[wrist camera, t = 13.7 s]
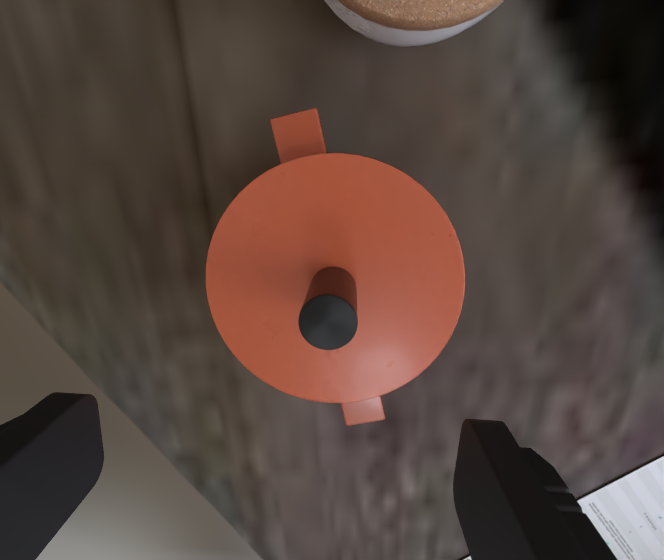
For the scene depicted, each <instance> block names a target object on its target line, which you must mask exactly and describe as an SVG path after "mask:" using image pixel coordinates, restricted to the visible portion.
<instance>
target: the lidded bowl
mask: <svg viewBox="0 0 664 560" xmlns="http://www.w3.org/2000/svg"><path fill="white" fill-rule="evenodd" d="M324 1H325V2H326V3H327V5H328V6H329V7H330V8H331V9H332V10H333V12H334V13H335V14H336V15H337V16H338V17H339V18H340V19H341V20H343V21H344V22H345V23H346V24H347V25H348V26H350V27H351V28H352V29H353V30H355V31H357V32H358V33H360V34H362V35H363V36H365V37H367V38H369V39H372V40H374V41H377V42H380V43H382V44H388V45H393V46H408V47H415V46H421V45H427V44H432V43H436V42H439V41H442V40H445V39H448V38H450V37H453V36H455V35H457V34H459V33H460V32H462V31H464V30H466V29H468V28H470V27H471V26H473V25H474V24H476V23H477V22H479V21H480V20H481V19H483V18H484V17H485V16H487V15H488V14H489V13H491V12H492V11H493V10H495V9H496V8H497V7H498V6H499V5H500V4H501V3H502V2H503V1H504V0H324Z"/></svg>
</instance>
